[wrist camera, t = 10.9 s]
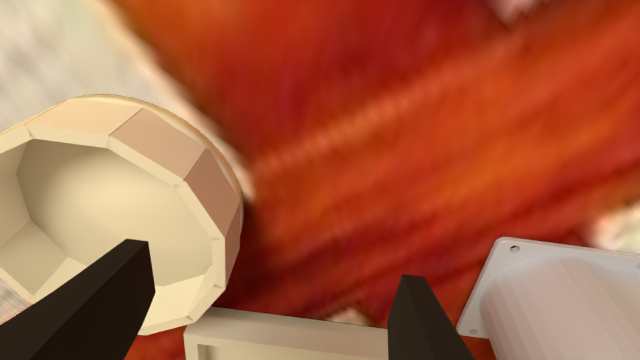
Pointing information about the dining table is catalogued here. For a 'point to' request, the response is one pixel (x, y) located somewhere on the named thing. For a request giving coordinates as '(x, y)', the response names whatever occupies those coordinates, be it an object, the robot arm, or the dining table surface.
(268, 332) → the tray
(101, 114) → the bowl
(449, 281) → the dining table surface
